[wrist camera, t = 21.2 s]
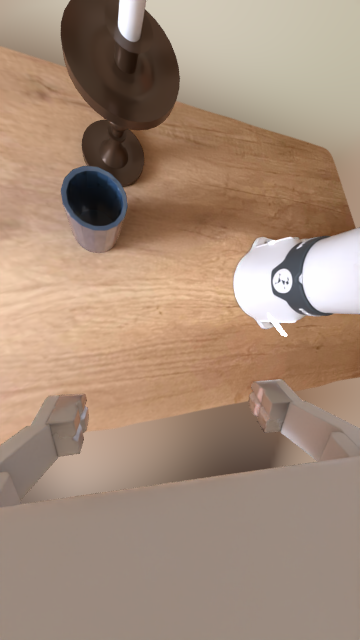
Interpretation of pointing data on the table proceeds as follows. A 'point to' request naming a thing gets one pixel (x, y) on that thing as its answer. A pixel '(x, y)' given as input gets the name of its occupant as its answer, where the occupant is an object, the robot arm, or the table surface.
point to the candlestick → (119, 78)
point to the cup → (94, 207)
